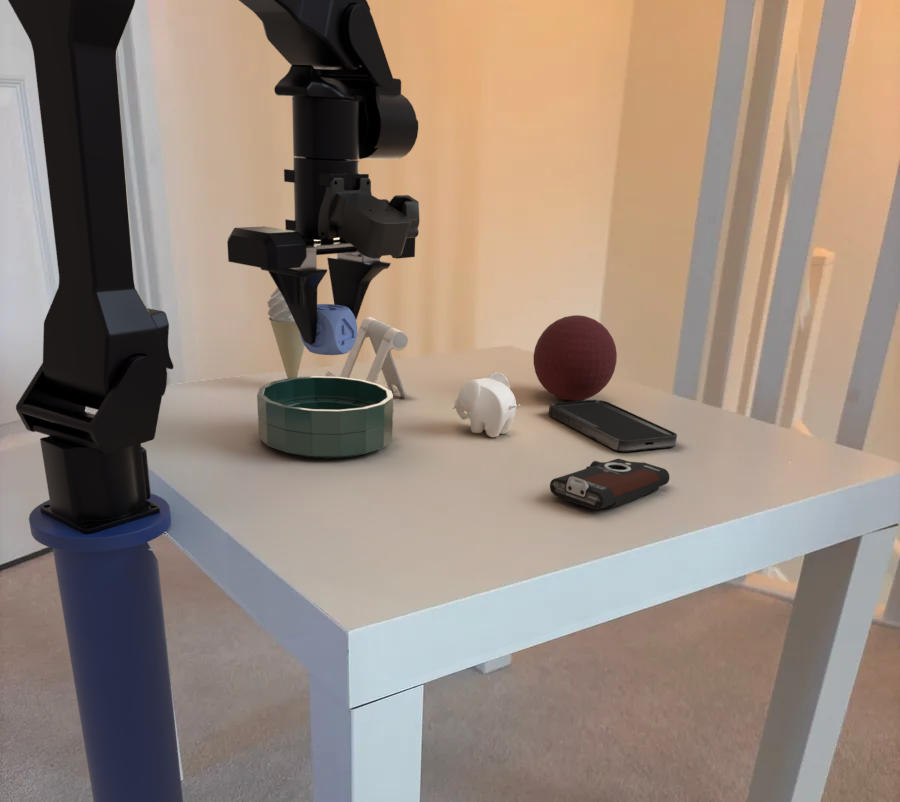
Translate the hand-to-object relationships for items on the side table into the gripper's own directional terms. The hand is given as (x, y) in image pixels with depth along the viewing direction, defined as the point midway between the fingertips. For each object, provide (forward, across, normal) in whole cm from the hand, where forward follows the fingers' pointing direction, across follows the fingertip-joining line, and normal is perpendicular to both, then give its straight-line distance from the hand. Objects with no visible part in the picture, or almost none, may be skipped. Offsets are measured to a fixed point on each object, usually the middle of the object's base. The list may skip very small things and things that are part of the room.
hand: (327, 340), depth 87 cm
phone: (+10, +26, -17) cm, 33 cm away
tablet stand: (+10, +16, +10) cm, 22 cm away
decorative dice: (+1, 0, 0) cm, 1 cm away
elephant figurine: (+10, +16, -8) cm, 20 cm away
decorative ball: (+10, +34, -7) cm, 37 cm away
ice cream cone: (+10, +12, +19) cm, 25 cm away
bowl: (+10, 0, +1) cm, 10 cm away
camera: (+10, +8, -27) cm, 30 cm away
